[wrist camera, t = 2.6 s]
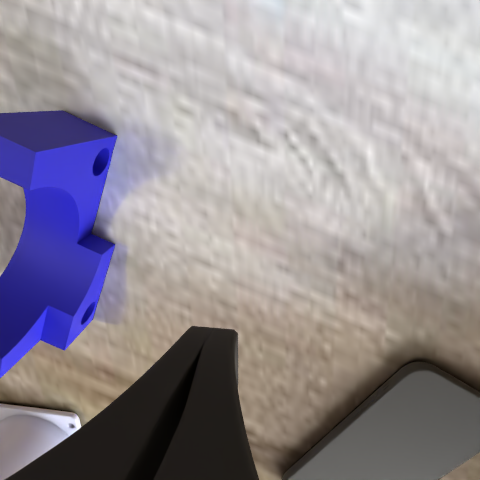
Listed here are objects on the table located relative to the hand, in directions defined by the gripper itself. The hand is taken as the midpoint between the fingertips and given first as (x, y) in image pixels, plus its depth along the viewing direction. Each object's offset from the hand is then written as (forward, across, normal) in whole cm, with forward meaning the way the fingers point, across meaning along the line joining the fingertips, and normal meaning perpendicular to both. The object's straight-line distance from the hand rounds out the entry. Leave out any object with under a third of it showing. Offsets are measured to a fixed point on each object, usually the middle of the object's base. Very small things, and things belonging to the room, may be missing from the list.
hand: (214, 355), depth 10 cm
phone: (+9, -9, +15) cm, 20 cm away
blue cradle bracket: (+10, +10, 0) cm, 14 cm away
